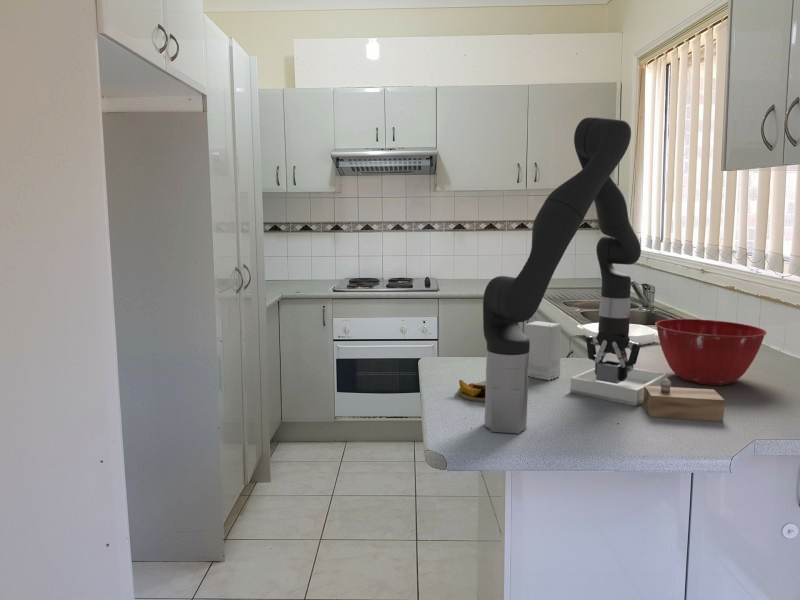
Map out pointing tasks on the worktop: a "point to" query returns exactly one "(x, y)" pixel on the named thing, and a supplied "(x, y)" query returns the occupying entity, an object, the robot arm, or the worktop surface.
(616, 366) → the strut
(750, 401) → the worktop surface
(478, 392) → the toy sandwich meal
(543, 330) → the skincare box
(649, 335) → the white serving platter
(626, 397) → the bin
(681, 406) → the stud block
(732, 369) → the mixing bowl
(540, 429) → the worktop surface
